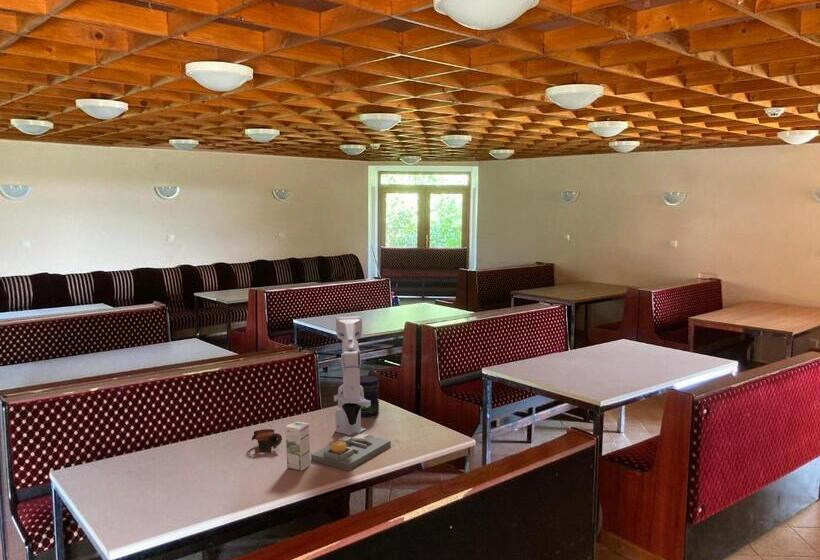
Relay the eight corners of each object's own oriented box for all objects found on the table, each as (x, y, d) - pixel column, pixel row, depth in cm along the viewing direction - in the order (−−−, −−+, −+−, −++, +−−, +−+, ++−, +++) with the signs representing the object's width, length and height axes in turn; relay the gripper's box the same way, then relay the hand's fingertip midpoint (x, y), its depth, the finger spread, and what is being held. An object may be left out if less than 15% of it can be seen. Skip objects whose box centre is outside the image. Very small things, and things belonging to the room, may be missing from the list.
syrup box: (311, 464, 201) (309, 422, 200) (300, 471, 196) (299, 428, 194) (297, 461, 204) (295, 420, 202) (286, 468, 198) (284, 426, 197)
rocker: (351, 440, 215) (351, 437, 215) (359, 436, 219) (359, 433, 218) (365, 440, 211) (365, 438, 211) (373, 436, 215) (372, 434, 215)
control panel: (311, 460, 205) (310, 450, 204) (355, 437, 225) (355, 428, 224) (348, 470, 196) (347, 460, 196) (390, 446, 216) (390, 436, 216)
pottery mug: (246, 455, 211) (245, 431, 214) (261, 457, 219) (260, 434, 222) (276, 449, 208) (275, 425, 211) (290, 451, 216) (289, 428, 219)
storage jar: (384, 412, 251) (383, 377, 249) (367, 419, 243) (367, 383, 242) (366, 408, 257) (365, 373, 255) (350, 414, 250) (349, 379, 248)
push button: (328, 450, 203) (328, 445, 203) (337, 445, 208) (337, 440, 207) (339, 453, 201) (339, 448, 200) (349, 448, 205) (349, 443, 205)
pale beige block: (338, 445, 211) (338, 439, 211) (345, 442, 214) (344, 436, 214) (345, 447, 209) (345, 441, 209) (351, 444, 212) (351, 437, 212)
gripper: (327, 385, 208) (328, 423, 209) (361, 391, 200) (362, 431, 202) (340, 380, 214) (341, 417, 215) (374, 386, 206) (374, 424, 207)
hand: (352, 423), depth 209 cm, fingers closed
